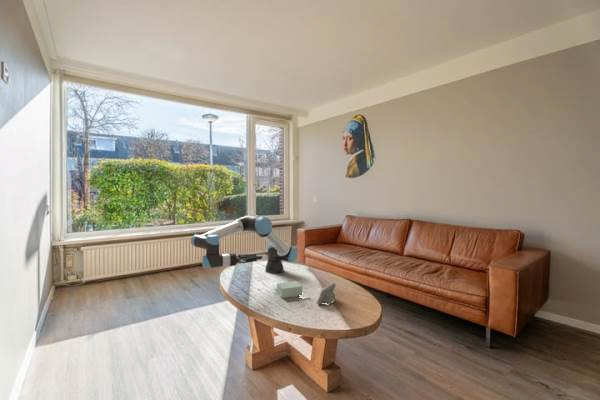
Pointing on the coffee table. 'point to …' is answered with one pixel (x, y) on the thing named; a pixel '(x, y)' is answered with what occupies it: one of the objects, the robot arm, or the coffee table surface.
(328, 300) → the digital clock
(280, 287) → the sage block
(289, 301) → the felt pad
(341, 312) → the coffee table surface
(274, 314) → the coffee table surface
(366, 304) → the coffee table surface
